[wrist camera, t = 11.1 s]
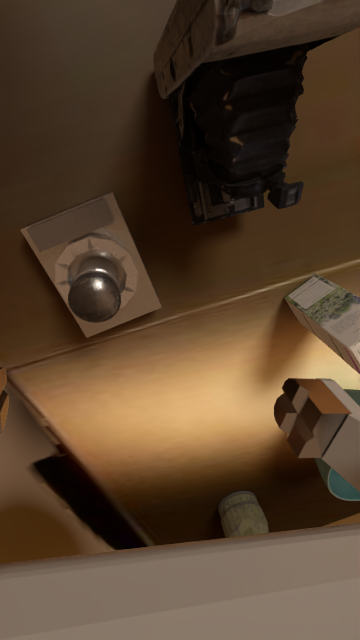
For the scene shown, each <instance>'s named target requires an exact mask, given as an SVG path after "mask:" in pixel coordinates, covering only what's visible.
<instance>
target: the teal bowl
mask: <svg viewBox="0 0 360 640" xmlns="http://www.w3.org/2000/svg"><path fill="white" fill-rule="evenodd" d="M343 390H344V391H345V392H346V393H347V394H348V395H349V396H350V397H351V398H352V399H353V400H354V401H355V402H356V403H357V404H358V405H359V406H360V390H350V389H343ZM315 461H316V464H317V466H318V469H319V471H320V474H321V476H322V478H323V480H324V482H325V483H326V485H327V487H328V489H329V490H330V492H331V493H332V494H333V495H334V496H335V497H337V498H339V499H342V500H347V501H359V500H360V492H359V491H358V490H357V489H356V488H354V487H353V486H352V485H351V484H350V483H349V482H348V481H346V480H345V479H344V478H343V477H342V476H341V475H339V474H338V473H337V472H336V471H335V470H334V469H333V468H331V467H330V466H329V465H328V464H327V463H326V462H325V461H323V460H322V458H315Z"/></svg>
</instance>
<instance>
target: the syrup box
mask: <svg viewBox="0 0 360 640" xmlns="http://www.w3.org/2000/svg"><path fill="white" fill-rule="evenodd" d="M284 299H285V300H286V302H287V304H288V305H289V307H290V308H291V310H292V311H293V313H294V315H295V316H296V318H297V319H298V321H299V322H300V323H301V324H302V325H303V326H304V327H306V328H307V329H308V330H310V331H311V332H312V333H313V334H314V335H316V336H317V337H318V338H319V339H320V340H321V341H322V342H324V343H325V344H326V345H327V346H328V347H329V348H331V349H332V350H333V351H334V352H335V353H336V354H337V355H338V356H340V357H341V358H342V359H343V360H344V361H345V362H346V363H347V364H349V365H350V366H351V367H352V368H353V369H354V370H356V371H357V372H358V373H359V374H360V297H358V296H356V295H354V294H353V293H351V292H349V291H347V290H345V289H343V288H341V287H340V286H338V285H336V284H334V283H332V282H330V281H328V280H326V279H325V278H323V277H321V276H319V275H317V274H315V275H314V276H312V277H311V278H310V279H308V280H307V281H306V282H304V283H303V284H302V285H300V286H299V287H298V288H296V289H295V290H294V291H292V292H291V293H290V294H288V295H287V296H286V297H284Z"/></svg>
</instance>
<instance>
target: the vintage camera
mask: <svg viewBox="0 0 360 640" xmlns="http://www.w3.org/2000/svg"><path fill="white" fill-rule="evenodd" d="M359 27H360V0H177V2H176V4H175V6H174V9H173V11H172V13H171V15H170V18H169V20H168V22H167V24H166V27H165V29H164V31H163V34H162V36H161V38H160V40H159V43H158V45H157V47H156V50H155V52H154V70H155V77H156V81H157V87H158V91H159V94H160V96H161V98H163V99H168V98H169V101H170V106H171V111H172V117H173V122H174V127H175V129H176V133H177V141H178V149H179V154H180V160H181V165H182V170H183V176H184V181H185V186H186V192H187V197H188V202H189V207H190V213H191V218H192V223H193V225H198V224H202V223H206V222H210V221H215V220H218V219H222V218H226V217H229V216H233V215H237V214H241V213H245V212H249V211H253V210H256V209H260V208H264V197H263V193H264V192H265V191H267V190H270V193H269V194H268V198H267V199H268V200H269V201H270V202H271V203H272V204H273V205H274V206H275V207H276V208H278V209H281V208H286V207H289V206H292V205H296V204H297V203H298V202H299V200H300V199H301V193H302V189H303V185H304V183H303V182H302V181H301V182H296V183H292V184H287V183H285V182H284V181H283V180H284V178H285V172H282V169H284V168H285V167H287V164H286V162H285V160H286V159H287V158H288V156H289V154H288V153H287V151H288V149H289V147H290V143H289V137H290V135H291V133H292V132H293V131H294V129H295V128H296V126H295V124H296V122H297V121H298V119H296V118H297V115H296V111H295V104H296V101H297V99H298V97H299V95H301V94H303V91H304V89H303V86H302V81H303V79H304V77H303V75H302V69H303V66H304V63H305V61H306V59H307V56H306V54H307V51H309V50H312V49H314V48H316V47H317V46H319V45H321V44H323V43H325V42H327V41H330V40H332V39H334V38H336V37H338V36H340V35H342V34H345V33H347V32H350V31H352V30H354V29H357V28H359Z"/></svg>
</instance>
